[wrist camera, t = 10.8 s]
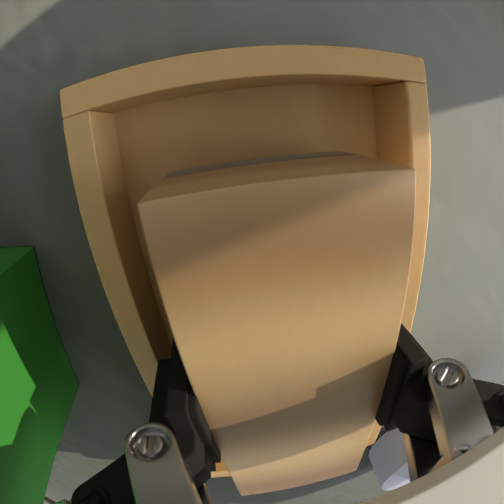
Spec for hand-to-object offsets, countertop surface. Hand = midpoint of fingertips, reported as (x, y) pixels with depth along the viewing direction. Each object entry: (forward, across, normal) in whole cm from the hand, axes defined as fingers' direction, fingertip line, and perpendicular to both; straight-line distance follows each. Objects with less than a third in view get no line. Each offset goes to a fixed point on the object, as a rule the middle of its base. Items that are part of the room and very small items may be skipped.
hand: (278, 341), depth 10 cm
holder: (+2, 0, 0) cm, 2 cm away
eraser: (0, 0, 0) cm, 0 cm away
